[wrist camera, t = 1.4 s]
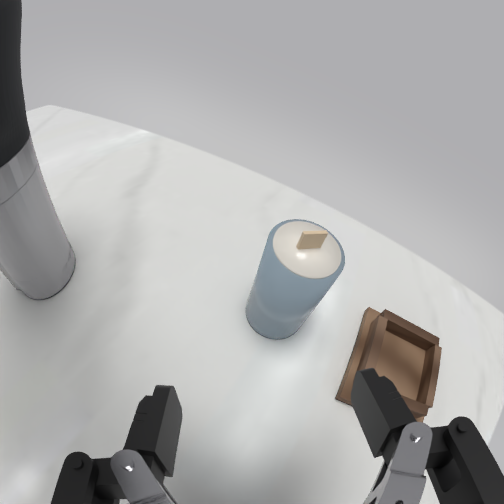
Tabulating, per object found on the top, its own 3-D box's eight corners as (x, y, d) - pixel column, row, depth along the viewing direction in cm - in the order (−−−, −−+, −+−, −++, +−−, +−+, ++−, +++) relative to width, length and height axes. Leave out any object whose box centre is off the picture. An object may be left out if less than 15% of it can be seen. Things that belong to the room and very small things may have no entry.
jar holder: (415, 428, 22) (432, 424, 19) (335, 398, 24) (349, 393, 22) (432, 345, 29) (446, 336, 27) (365, 310, 31) (377, 298, 29)
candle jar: (252, 343, 27) (287, 272, 17) (240, 290, 30) (263, 202, 21) (309, 333, 28) (368, 264, 18) (293, 284, 32) (335, 203, 22)
